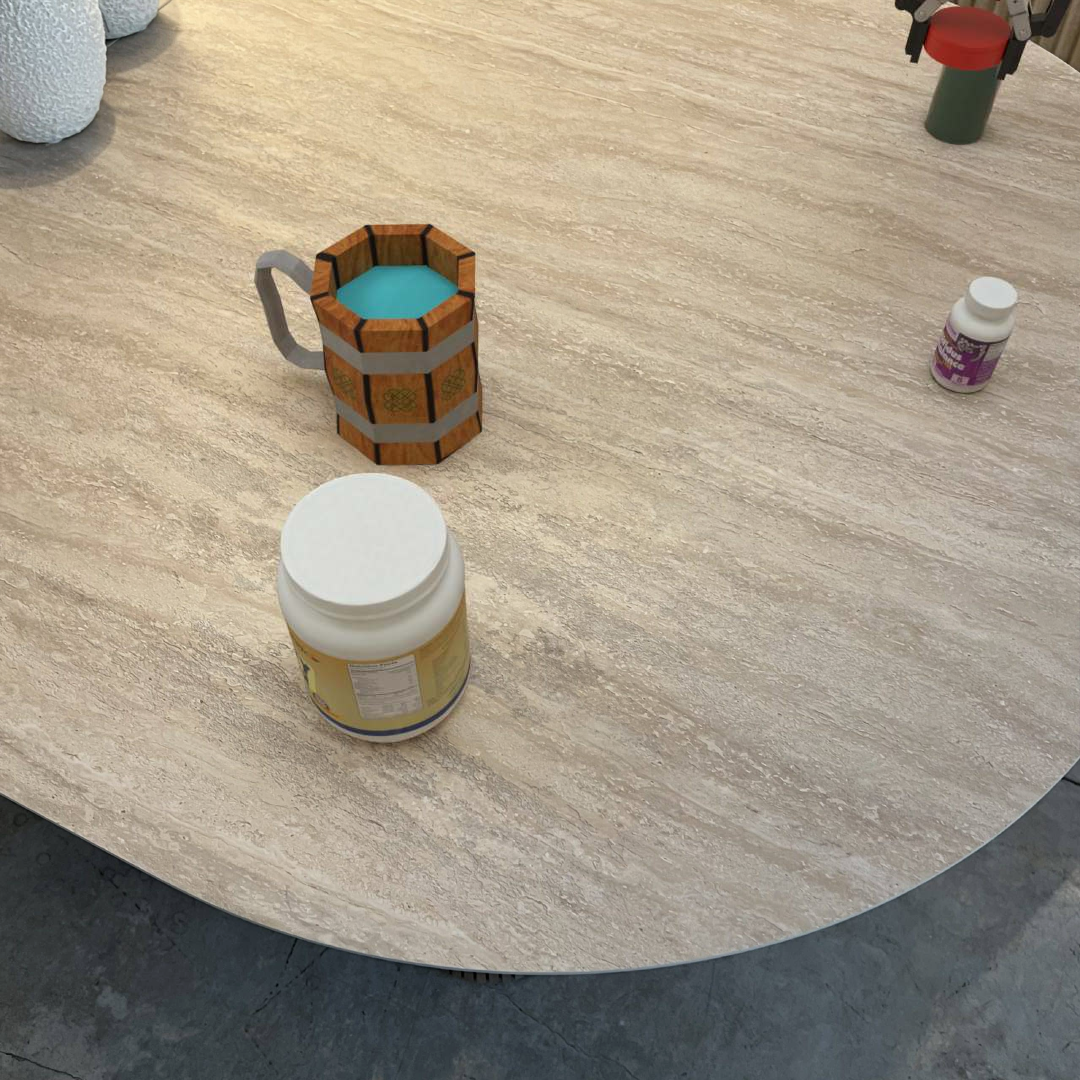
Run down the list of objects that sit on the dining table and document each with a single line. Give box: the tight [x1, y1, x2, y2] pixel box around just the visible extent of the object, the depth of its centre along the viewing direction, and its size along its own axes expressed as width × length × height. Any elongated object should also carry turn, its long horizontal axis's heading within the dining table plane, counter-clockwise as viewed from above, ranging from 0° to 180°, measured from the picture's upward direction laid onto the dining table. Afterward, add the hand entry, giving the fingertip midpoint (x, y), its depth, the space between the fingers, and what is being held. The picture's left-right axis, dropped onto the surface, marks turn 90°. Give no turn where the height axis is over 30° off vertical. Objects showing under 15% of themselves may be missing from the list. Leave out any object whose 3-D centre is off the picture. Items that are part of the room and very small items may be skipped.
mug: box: [253, 223, 483, 466], centre depth 95 cm, size 20×14×15 cm
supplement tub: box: [276, 472, 472, 743], centre depth 77 cm, size 12×12×17 cm
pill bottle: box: [930, 276, 1019, 394], centre depth 100 cm, size 5×5×10 cm
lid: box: [923, 5, 1012, 70], centre depth 96 cm, size 7×7×2 cm
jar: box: [924, 63, 1003, 145], centre depth 123 cm, size 6×6×11 cm
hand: (957, 66), depth 98 cm, fingers closed on lid, 6 cm apart
